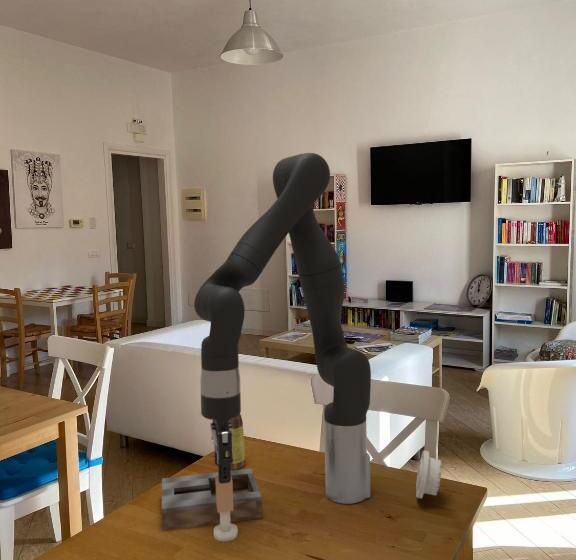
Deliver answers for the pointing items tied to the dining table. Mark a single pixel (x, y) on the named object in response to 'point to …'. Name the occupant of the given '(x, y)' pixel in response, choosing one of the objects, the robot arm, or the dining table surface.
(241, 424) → the sauce bottle
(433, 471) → the mechanical component
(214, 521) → the keyhole plate
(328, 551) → the dining table surface
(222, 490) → the keyhole peg
